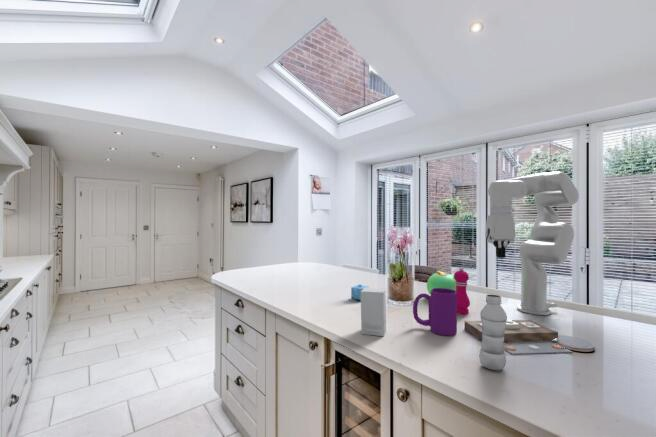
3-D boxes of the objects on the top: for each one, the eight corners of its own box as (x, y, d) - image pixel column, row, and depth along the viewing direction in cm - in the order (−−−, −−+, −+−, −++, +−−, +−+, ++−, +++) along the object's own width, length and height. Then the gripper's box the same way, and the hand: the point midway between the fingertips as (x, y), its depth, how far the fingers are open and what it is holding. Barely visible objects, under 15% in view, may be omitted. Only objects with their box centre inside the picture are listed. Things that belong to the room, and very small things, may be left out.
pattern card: (554, 343, 103) (554, 341, 103) (572, 352, 96) (572, 350, 96) (497, 345, 102) (497, 343, 102) (511, 354, 95) (511, 352, 95)
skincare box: (386, 331, 114) (387, 288, 113) (383, 337, 107) (384, 292, 107) (364, 328, 116) (364, 286, 116) (360, 334, 110) (360, 290, 110)
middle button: (510, 328, 113) (510, 319, 113) (519, 332, 109) (519, 323, 109) (499, 328, 113) (499, 319, 113) (507, 332, 108) (507, 323, 108)
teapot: (358, 303, 149) (359, 288, 149) (347, 301, 152) (348, 286, 152) (369, 298, 159) (369, 283, 159) (359, 296, 163) (359, 282, 162)
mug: (455, 338, 107) (456, 295, 107) (410, 330, 114) (410, 289, 114) (457, 329, 115) (458, 289, 115) (415, 323, 122) (415, 285, 122)
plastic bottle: (474, 362, 89) (475, 293, 89) (496, 362, 90) (497, 293, 90) (487, 374, 83) (488, 299, 83) (511, 373, 83) (512, 298, 83)
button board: (529, 327, 118) (529, 319, 118) (557, 341, 106) (557, 332, 106) (464, 328, 116) (464, 320, 116) (484, 343, 103) (485, 334, 103)
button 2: (531, 330, 114) (531, 322, 114) (540, 335, 110) (540, 326, 110) (519, 330, 114) (520, 322, 114) (528, 335, 109) (528, 326, 109)
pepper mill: (466, 310, 140) (467, 266, 140) (472, 315, 132) (472, 268, 132) (449, 309, 140) (450, 265, 140) (454, 314, 133) (455, 268, 133)
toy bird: (424, 295, 167) (424, 267, 167) (456, 296, 164) (457, 268, 164) (430, 304, 149) (430, 273, 149) (467, 306, 146) (467, 275, 146)
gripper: (511, 211, 129) (511, 255, 129) (477, 212, 127) (477, 256, 128) (524, 211, 121) (524, 258, 122) (488, 212, 120) (488, 259, 120)
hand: (500, 257), depth 125 cm, fingers closed
